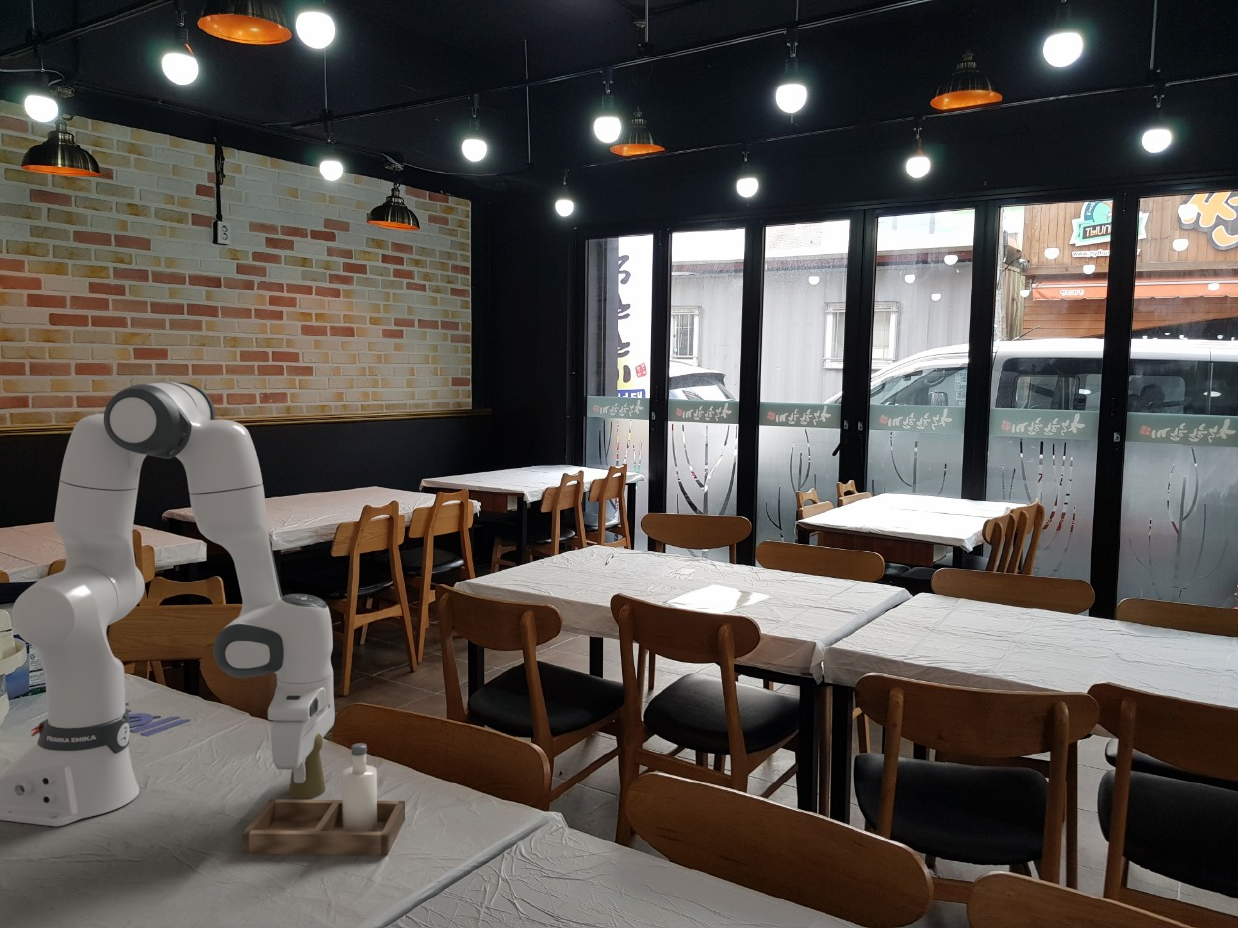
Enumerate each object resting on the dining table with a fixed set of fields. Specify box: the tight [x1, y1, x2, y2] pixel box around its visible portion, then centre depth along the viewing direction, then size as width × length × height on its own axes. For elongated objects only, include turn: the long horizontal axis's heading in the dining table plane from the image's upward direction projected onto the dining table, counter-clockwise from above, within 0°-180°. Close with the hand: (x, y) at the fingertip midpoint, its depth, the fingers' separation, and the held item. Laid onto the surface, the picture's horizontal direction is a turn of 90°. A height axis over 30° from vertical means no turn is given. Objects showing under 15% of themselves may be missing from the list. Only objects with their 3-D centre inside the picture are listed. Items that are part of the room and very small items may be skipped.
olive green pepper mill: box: [288, 733, 326, 800], centre depth 154 cm, size 6×6×11 cm
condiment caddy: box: [241, 798, 406, 856], centre depth 139 cm, size 21×11×4 cm, turn 90°
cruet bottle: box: [341, 742, 378, 832], centre depth 138 cm, size 5×5×14 cm
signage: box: [125, 702, 191, 737], centre depth 190 cm, size 28×1×10 cm
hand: (306, 773), depth 154 cm, fingers closed on olive green pepper mill, 5 cm apart
